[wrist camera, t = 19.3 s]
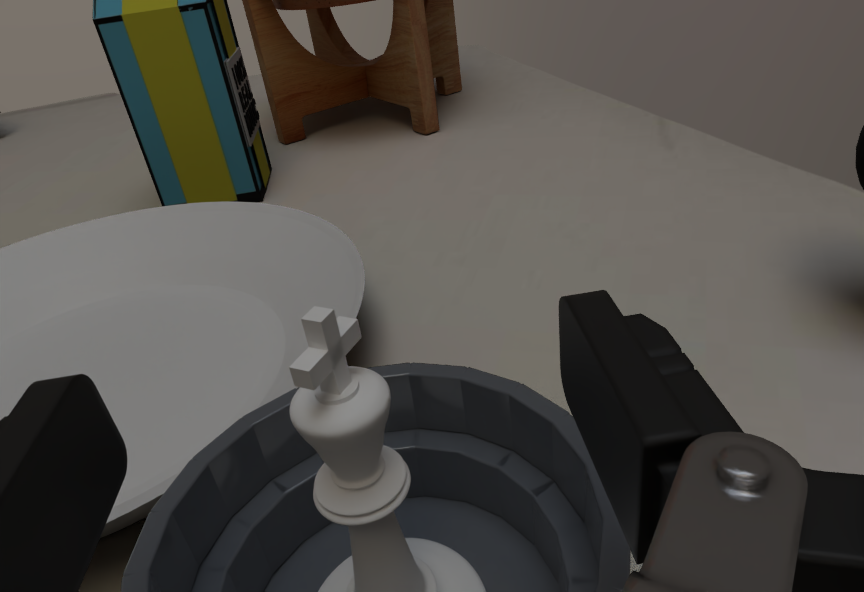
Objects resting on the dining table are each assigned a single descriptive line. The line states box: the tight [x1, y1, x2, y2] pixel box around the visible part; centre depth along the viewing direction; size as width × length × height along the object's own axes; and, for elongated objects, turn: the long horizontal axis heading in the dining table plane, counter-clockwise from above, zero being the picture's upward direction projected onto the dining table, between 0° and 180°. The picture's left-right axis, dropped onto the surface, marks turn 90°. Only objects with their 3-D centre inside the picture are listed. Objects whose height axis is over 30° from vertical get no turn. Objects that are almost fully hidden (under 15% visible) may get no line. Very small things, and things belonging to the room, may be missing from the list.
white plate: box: [0, 202, 365, 538], centre depth 28 cm, size 25×25×4 cm
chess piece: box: [289, 306, 486, 592], centre depth 14 cm, size 5×5×10 cm
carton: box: [93, 0, 272, 206], centre depth 45 cm, size 7×8×18 cm
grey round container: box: [121, 363, 631, 592], centre depth 16 cm, size 11×11×5 cm
